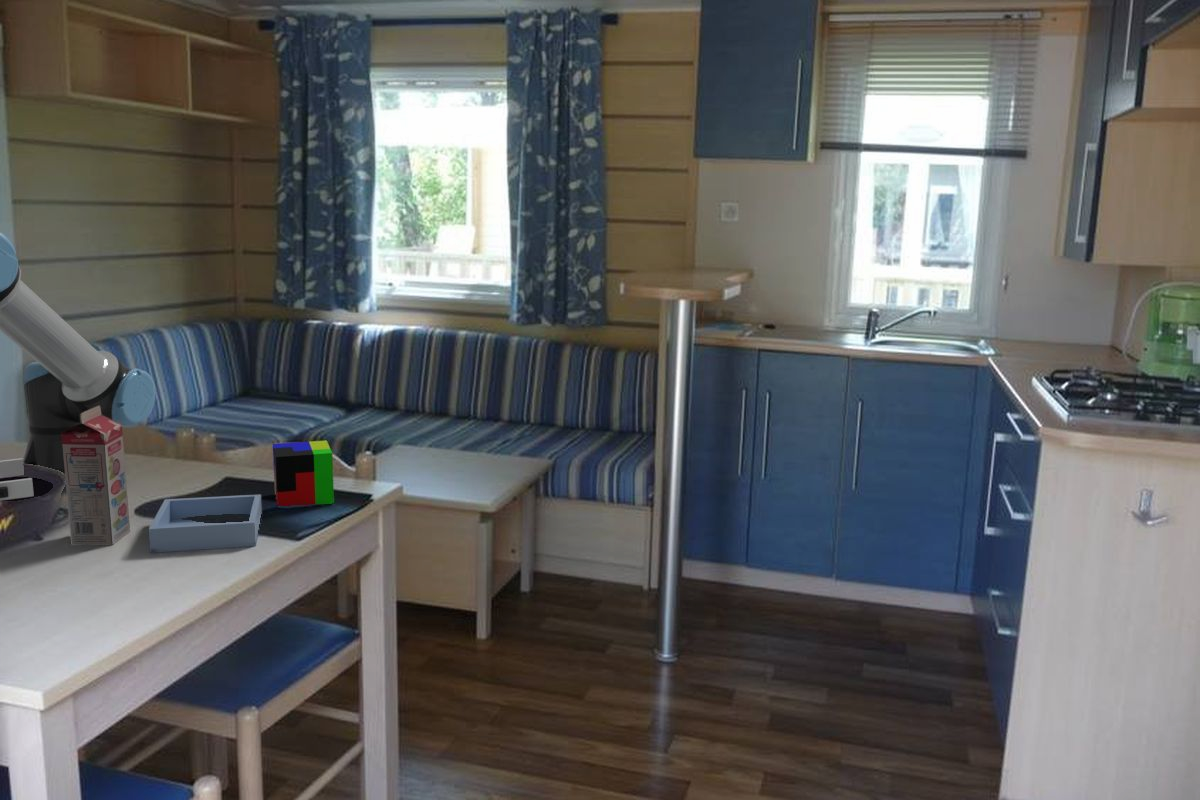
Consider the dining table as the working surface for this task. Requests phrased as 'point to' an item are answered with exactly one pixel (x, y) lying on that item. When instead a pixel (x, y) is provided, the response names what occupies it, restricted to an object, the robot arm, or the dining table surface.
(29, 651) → the dining table surface
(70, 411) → the robot arm
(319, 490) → the puzzle toy
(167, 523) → the bin
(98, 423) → the juice carton
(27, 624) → the dining table surface
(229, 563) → the dining table surface
